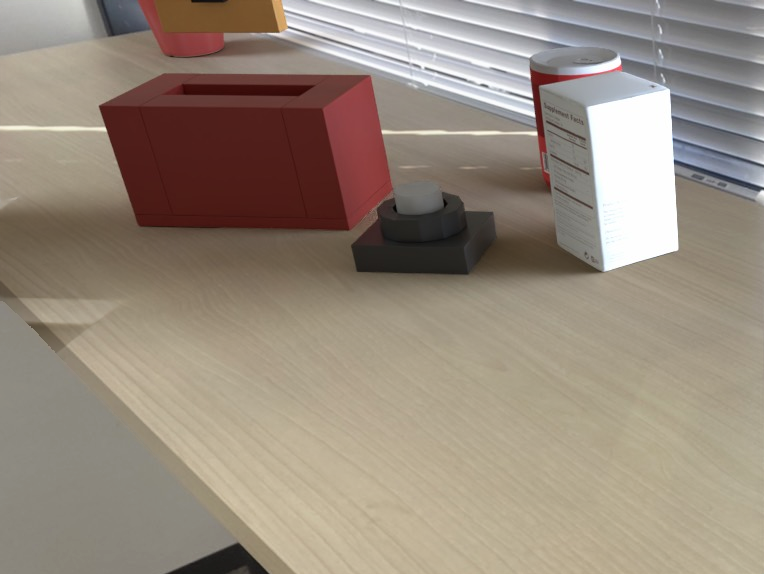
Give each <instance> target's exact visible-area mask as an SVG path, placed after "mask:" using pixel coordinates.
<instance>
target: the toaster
mask: <svg viewBox="0 0 764 574" xmlns="http://www.w3.org/2000/svg"><path fill="white" fill-rule="evenodd" d="M98 109H99V111H100V115H101V118H102V121H103V124H104V126H105V127H104V128H105V130H106V133H107V136H108V139H109V142H110V144H111V148H112V151H113V154H114V157H115V160H116V163H117V166H118V169H119V172H120V176H121V179H122V181H123V184H124V187H125V190H126V193H127V197H128V199H129V203H130V206H131V208H132V212H133V214H134V219H135V220H136V224H137V226H139V227H176V228H177V227H178V228H179V227H181V228H182V227H183V228H224V229H226V228H228V229H229V228H230V229H270V230H272V229H273V230H275V229H276V230H312V231H313V230H315V231H316V230H317V231H318V230H319V231H351V230H352V229H353V228H354V227H355V226H356V225H357V224H358V223H359V222H361V220H362V219H364V217H366V216H367V215H368V214H369V213H370V212H371V211H372V210H373V209H374V208H375V207H376V206H377V205H378V204H379V203H380V202H382V200H383V199H384V198H386V197H387V196H388V195H389V194H390V193H391V192H393V191H394V187H393V183H392V179H391V172H390V167H389V162H388V157H387V152H386V147H385V141H384V135H383V132H382V127H381V121H380V116H379V115H380V114H379V109H378V106H377V101H376V96H375V91H374V85H373V80H372V75H371V74H310V73H309V74H305V73H304V74H302V73H301V74H298V73H294V74H293V73H292V74H290V73H286V74H285V73H284V74H283V73H199V72H198V73H195V72H194V73H192V72H191V73H189V72H188V73H186V72H185V73H184V72H183V73H182V72H181V73H180V72H177V73H176V72H164V73H162V74H159V75H157V76H156V77H153V78H151V79H150V80H147V81H146V82H143V83H142V84H139V85H138V86H135V87H134V88H132V89H129V90H126V92H122V93H121V94H119V95H117V96H115V97H113V98H111V99H109V100H107V101H105V102H103V103H101V104H99V105H98ZM372 208H373V209H372ZM371 209H372V210H371ZM370 210H371V211H370ZM369 211H370V212H369Z"/></svg>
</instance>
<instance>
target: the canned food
mask: <svg viewBox="0 0 764 574" xmlns="http://www.w3.org/2000/svg"><path fill="white" fill-rule="evenodd" d="M528 66H529V75H530V85H531V93H532V102H533V109H534V118H535V119H534V120H535V125H536V127H535V128H536V134H537V141H538V142H537V143H538V150H539V159H540V166H541V174H542V178H543V180H544V183H545V185H546V187H547V188H548V189H549V190H551V184H550V174H549V166H548V157H547V150H546V141H545V133H544V125H543V117H542V108H541V100H540V91H539V86H541V85H547V84H552V83H557V82H562V81H567V80H572V79H578V78H583V77H588V76H593V75H598V74H602V73H607V72H612V71H617V70H619V71H623V68H622V60H621V55H620V53H619V52H618V51H616V50H612V49H611V48H605V47H597V46H564V47H557V48H556V47H555V48H550V49H545V50H542V51H539V52H536V53H534V54H532V55H531V56H530V57H529V65H528Z"/></svg>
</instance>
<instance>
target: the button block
mask: <svg viewBox="0 0 764 574" xmlns="http://www.w3.org/2000/svg"><path fill="white" fill-rule="evenodd" d="M441 192H442V198H443V203H444V209H441V210H439V211H436V212H433V213H428V214H422V215H403V214H400V213H397V208H396V202H395V197H392V198H388V199H385V200H384V201H383V202H381V204H380V205H379V206H378V207H376V213H377V214H376V215H377V219H376V220H375V221H374V222H373V223H372V224H371V225H370V226H368V228H367V229H366V230H365V231H363V233H362V234H361V235H360V236H358V238H356V239H355V241H354V242H352V243H351V245H350V248H351V252H352V258H353V261H354V266H355V270H356V273H381V274H382V273H384V274H386V273H387V274H419V275H421V274H423V275H424V274H425V275H456V276H460V275H461V276H469V275H470V273H471V272H472V271H473V270H474V269H475V267H476V266H477V264H478V263H479V261H480V260H481V259H482V258H483V256H484V255H485V254H486V253H487V251H488V250H489V248H490V247H491V246H492V244H493V243H494V242H495V240H496V239H498V235H497V228H496V220H495V214H494V211H481V210H479V211H477V210H466V209H465V203H464V201H463V199H462V198H461V197H460V196H459V195H456V194H452V193H448V192H446V191H441Z"/></svg>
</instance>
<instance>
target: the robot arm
mask: <svg viewBox="0 0 764 574" xmlns="http://www.w3.org/2000/svg"><path fill="white" fill-rule="evenodd" d="M226 1H228V0H191V2H192V3H224V2H226Z"/></svg>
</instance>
